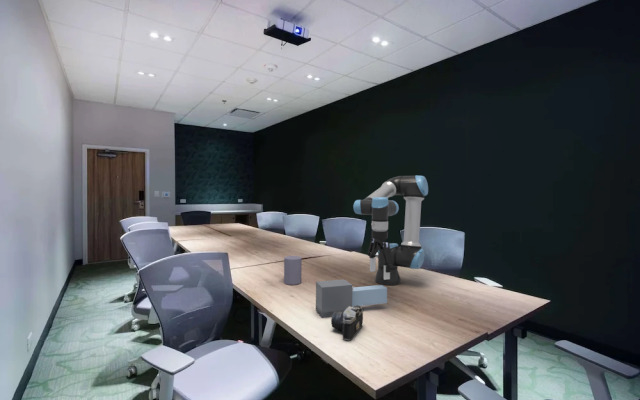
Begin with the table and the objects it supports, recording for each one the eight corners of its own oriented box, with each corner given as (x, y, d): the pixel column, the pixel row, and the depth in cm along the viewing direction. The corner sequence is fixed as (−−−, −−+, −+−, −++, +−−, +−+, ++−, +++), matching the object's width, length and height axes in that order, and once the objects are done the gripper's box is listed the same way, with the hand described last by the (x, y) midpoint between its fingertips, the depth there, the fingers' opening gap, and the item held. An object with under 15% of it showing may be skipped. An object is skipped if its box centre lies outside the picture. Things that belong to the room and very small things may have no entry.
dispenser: (345, 307, 142) (345, 279, 142) (353, 314, 134) (353, 284, 134) (315, 310, 138) (316, 281, 138) (321, 318, 129) (322, 287, 129)
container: (304, 283, 179) (304, 258, 179) (289, 286, 173) (289, 260, 173) (295, 279, 187) (296, 255, 187) (280, 281, 182) (281, 257, 181)
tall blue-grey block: (381, 299, 146) (381, 284, 146) (386, 302, 141) (387, 288, 141) (346, 302, 140) (347, 287, 140) (351, 306, 136) (351, 291, 136)
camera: (341, 321, 127) (341, 297, 127) (365, 326, 123) (365, 301, 122) (325, 336, 113) (326, 310, 113) (351, 343, 108) (352, 315, 108)
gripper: (361, 227, 153) (360, 268, 153) (386, 234, 129) (385, 283, 130) (374, 226, 155) (374, 267, 156) (401, 233, 131) (401, 282, 132)
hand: (379, 275), depth 143 cm, fingers open, 13 cm apart
